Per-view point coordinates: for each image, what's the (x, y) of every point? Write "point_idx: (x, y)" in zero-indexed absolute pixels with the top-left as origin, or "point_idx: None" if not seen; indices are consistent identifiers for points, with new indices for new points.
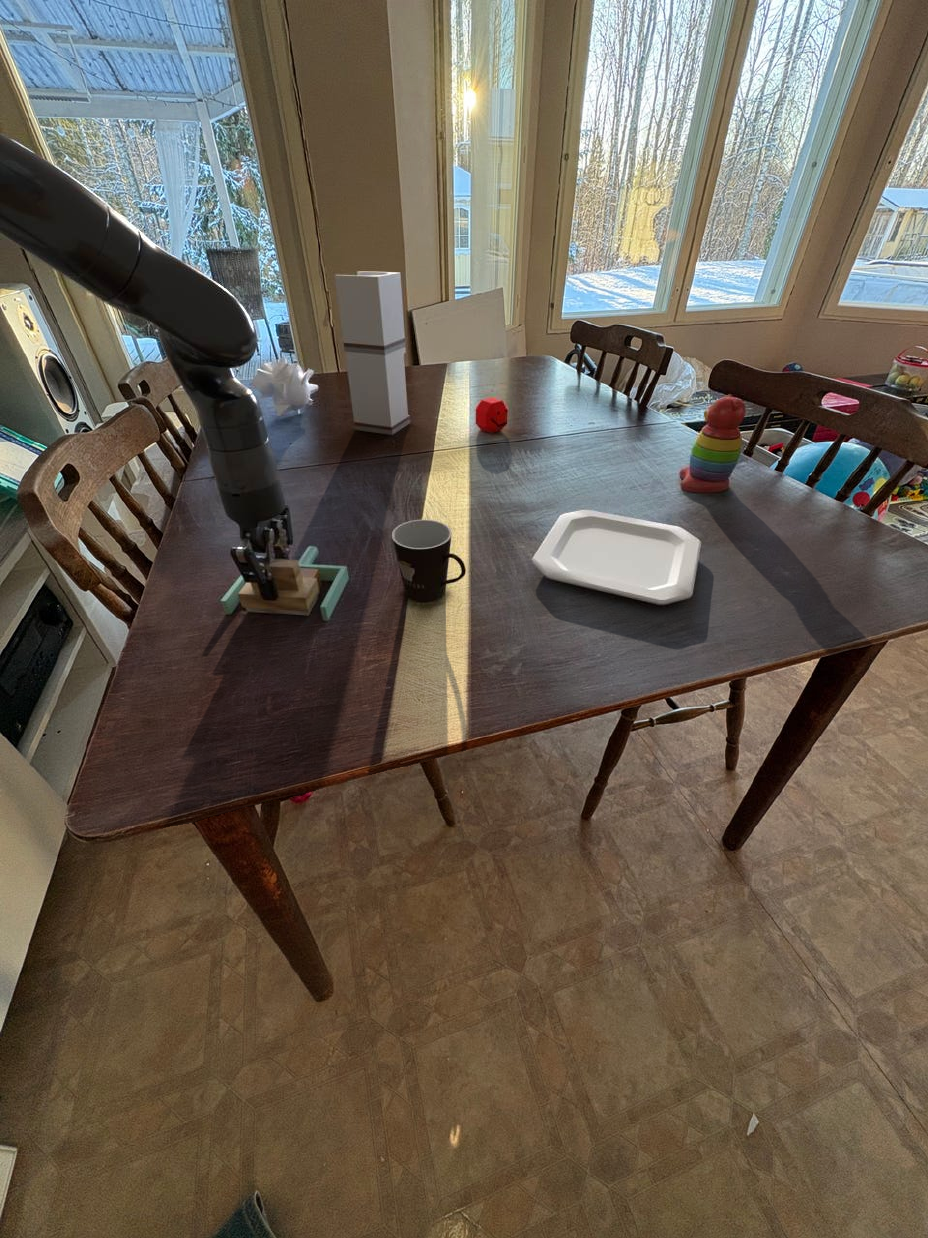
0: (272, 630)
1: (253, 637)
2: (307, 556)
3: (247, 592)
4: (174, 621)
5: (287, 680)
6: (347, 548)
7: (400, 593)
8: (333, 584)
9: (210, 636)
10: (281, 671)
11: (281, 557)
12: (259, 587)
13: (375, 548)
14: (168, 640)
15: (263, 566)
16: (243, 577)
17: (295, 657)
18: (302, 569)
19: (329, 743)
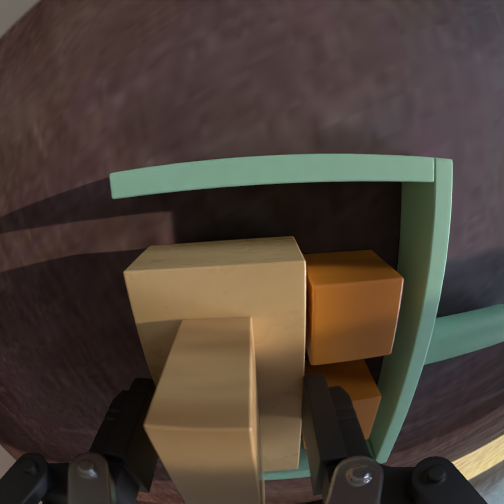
0: (117, 355)
1: (76, 318)
2: (466, 351)
3: (144, 313)
4: (85, 30)
5: (35, 407)
6: (500, 365)
7: (315, 497)
8: (296, 474)
9: (41, 192)
10: (40, 397)
11: (316, 483)
12: (98, 436)
13: (481, 412)
14: (16, 87)
15: (177, 487)
16: (7, 475)
17: (75, 413)
18: (371, 406)
19: (14, 446)
